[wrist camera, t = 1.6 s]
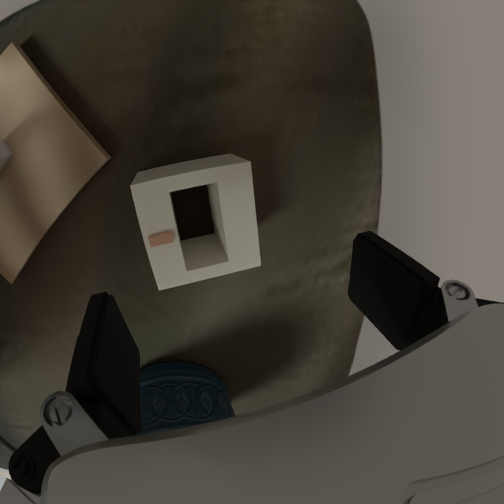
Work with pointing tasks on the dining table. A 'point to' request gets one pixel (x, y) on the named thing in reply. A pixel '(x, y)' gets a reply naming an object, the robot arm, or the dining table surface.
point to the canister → (181, 397)
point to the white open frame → (223, 216)
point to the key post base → (36, 159)
